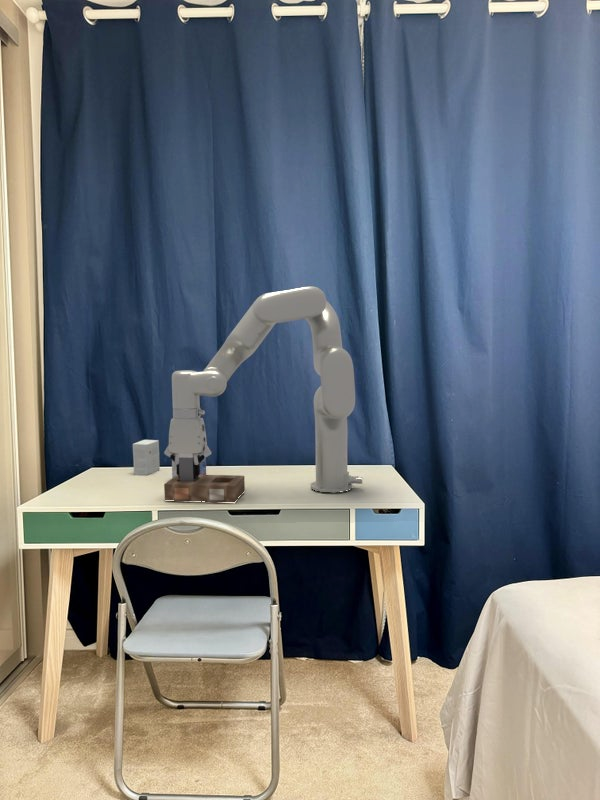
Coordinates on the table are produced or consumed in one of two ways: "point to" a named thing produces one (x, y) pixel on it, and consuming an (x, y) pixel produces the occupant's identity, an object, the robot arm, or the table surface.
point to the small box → (146, 457)
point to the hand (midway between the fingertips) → (188, 476)
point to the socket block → (206, 488)
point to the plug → (186, 467)
